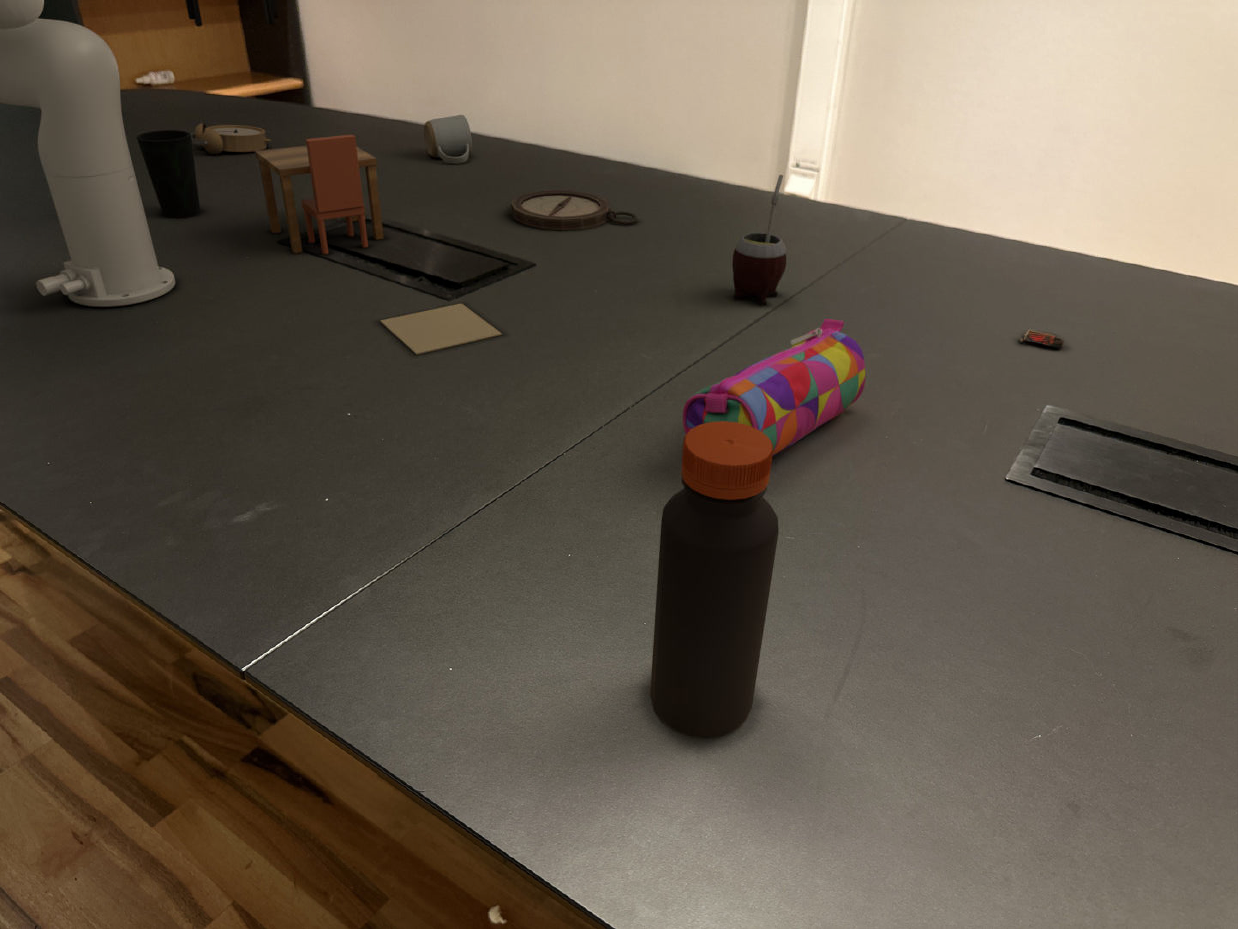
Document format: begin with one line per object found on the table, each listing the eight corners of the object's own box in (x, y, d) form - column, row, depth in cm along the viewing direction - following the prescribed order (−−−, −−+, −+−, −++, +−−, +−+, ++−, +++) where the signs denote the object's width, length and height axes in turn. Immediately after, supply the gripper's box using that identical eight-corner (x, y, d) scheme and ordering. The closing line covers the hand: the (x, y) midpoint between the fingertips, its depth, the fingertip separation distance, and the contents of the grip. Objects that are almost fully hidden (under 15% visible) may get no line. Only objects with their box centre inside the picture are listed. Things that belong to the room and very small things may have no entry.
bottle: (743, 663, 63) (778, 412, 52) (759, 740, 57) (802, 476, 46) (646, 664, 62) (661, 411, 52) (652, 741, 57) (671, 475, 46)
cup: (215, 207, 148) (199, 131, 142) (192, 220, 142) (174, 142, 135) (171, 204, 149) (153, 128, 142) (145, 218, 142) (126, 139, 136)
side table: (385, 238, 137) (376, 158, 131) (293, 253, 130) (279, 169, 124) (357, 218, 145) (347, 141, 139) (269, 231, 139) (254, 150, 132)
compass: (489, 212, 150) (488, 200, 149) (560, 195, 160) (560, 183, 159) (573, 242, 138) (573, 229, 137) (644, 221, 148) (644, 209, 147)
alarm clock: (274, 135, 180) (194, 128, 171) (274, 160, 182) (195, 155, 173) (256, 124, 187) (178, 118, 178) (256, 149, 189) (179, 143, 180)
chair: (370, 247, 134) (356, 135, 125) (323, 255, 130) (306, 141, 122) (352, 234, 139) (338, 125, 130) (307, 241, 135) (290, 130, 127)
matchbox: (1065, 350, 109) (1067, 346, 109) (1021, 344, 110) (1022, 341, 110) (1060, 335, 113) (1061, 332, 113) (1017, 330, 114) (1018, 326, 114)
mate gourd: (740, 308, 118) (753, 193, 110) (719, 286, 124) (729, 176, 116) (792, 304, 120) (808, 190, 112) (769, 283, 126) (782, 174, 118)
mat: (501, 334, 108) (501, 333, 108) (416, 354, 103) (416, 353, 103) (461, 304, 116) (461, 303, 116) (380, 321, 111) (380, 320, 111)
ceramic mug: (423, 153, 182) (420, 113, 178) (462, 150, 186) (460, 111, 181) (438, 166, 175) (435, 125, 170) (479, 163, 178) (477, 122, 174)
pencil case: (787, 383, 100) (799, 306, 95) (865, 410, 95) (881, 331, 90) (671, 460, 85) (677, 374, 80) (756, 497, 80) (768, 409, 76)
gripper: (139, -123, 112) (171, 29, 121) (283, -117, 119) (303, 26, 128) (136, -123, 118) (166, 22, 127) (273, -117, 125) (293, 20, 134)
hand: (235, 24), depth 127 cm, fingers open, 9 cm apart
